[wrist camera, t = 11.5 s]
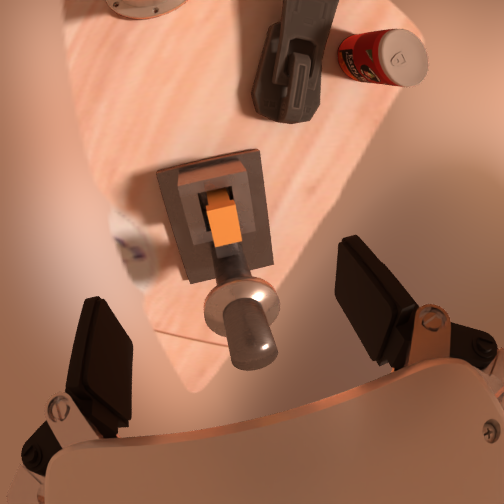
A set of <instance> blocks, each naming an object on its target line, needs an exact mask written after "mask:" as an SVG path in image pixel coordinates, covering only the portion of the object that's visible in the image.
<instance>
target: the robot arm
mask: <svg viewBox="0 0 504 504" xmlns="http://www.w3.org/2000/svg"><path fill="white" fill-rule="evenodd" d="M105 1H106V2H107V4H108V6H109V7H110V8H111V9H112V10H114V11H115V12H116V13H118V14H120V15H122V16H124V17H128V18H133V19H148V18H154V17H159V16H162V15H165V14H167V13H170V12H172V11H174V10H176V9H177V8H179V7H180V6H182V5H183V4H185V3H186V2H187V1H188V0H105ZM118 4H119V6H117V7H116V5H118ZM156 10H157V11H158V12H157V13H154V12H155V11H156ZM335 296H336V299H337V301H338V303H339V304H340V306H341V307H342V309H343V311H344V313H345V314H346V316H347V318H348V319H349V321H350V323H351V325H352V326H353V328H354V330H355V331H356V333H357V335H358V337H359V338H360V340H361V342H362V344H363V346H364V347H365V349H366V351H367V352H368V354H369V356H370V358H371V359H372V360H373V361H377V363H378V365H379V366H381V365H384V364H386V363H388V362H389V364H390V366H391V367H392V372H391V373H390V374H387V375H385V376H383V377H380V378H378V379H375V380H373V381H370V382H368V383H365V384H363V385H360V386H358V387H355V388H352V389H350V390H347V391H345V392H342V393H339V394H336V395H334V396H331V397H328V398H325V399H322V400H319V401H316V402H313V403H310V404H306V405H303V406H300V407H297V408H294V409H290V410H287V411H283V412H279V413H275V414H272V415H268V416H264V417H260V418H256V419H251V420H247V421H242V422H238V423H233V424H228V425H223V426H218V427H212V428H206V429H201V430H194V431H187V432H179V433H171V434H163V435H152V436H140V437H127V438H121V437H120V436H119V434H118V428H120V427H129V422H128V420H131V415H132V409H131V408H132V400H131V399H132V361H133V344H132V341H131V339H130V338H129V336H128V335H127V333H126V332H125V330H124V329H123V327H122V326H121V324H120V323H119V321H118V320H117V318H116V317H115V315H114V313H113V312H112V310H111V309H110V307H109V306H108V304H107V302H106V301H105V300H104V299H101V298H100V297H99V296H96V297H92V298H87V299H85V301H84V304H83V308H82V311H81V315H80V319H79V323H78V327H77V331H76V336H75V340H74V344H73V349H72V354H71V359H70V364H69V369H68V375H67V381H66V389H65V392H58V393H55V394H53V395H52V396H51V397H50V398H49V399H48V401H47V403H46V405H45V417H46V421H45V422H44V423H43V424H42V425H41V426H40V428H38V429H37V431H36V432H35V433H34V434H33V435H32V436H31V437H30V438H29V439H28V440H27V441H26V442H25V444H24V446H23V448H22V453H21V457H22V461H23V465H21V464H20V465H19V467H18V469H17V472H16V474H15V476H14V479H13V481H12V483H11V486H10V488H9V491H8V494H7V502H8V504H504V348H502V347H501V348H500V349H498V348H497V344H496V342H495V340H494V338H493V337H492V336H491V335H490V334H488V333H486V332H484V331H480V330H477V329H473V328H470V327H466V326H462V325H459V324H455V323H452V322H451V321H450V317H449V315H448V313H447V312H446V311H445V310H444V309H443V308H441V307H440V306H438V305H435V304H425V305H423V306H421V307H419V306H418V305H417V303H416V302H415V301H414V300H413V298H412V297H411V296H410V294H409V293H408V292H407V291H406V289H405V288H404V287H403V286H402V285H401V283H400V282H399V281H398V280H397V278H396V277H395V276H394V275H393V274H392V272H391V271H390V270H389V269H388V268H387V267H386V266H385V264H383V263H382V262H381V261H380V260H379V259H378V258H377V257H376V256H375V254H374V253H373V252H372V251H371V250H370V249H369V248H368V246H367V245H366V244H365V243H364V242H363V241H362V240H361V239H360V237H358V236H357V235H353V236H349V237H345V238H343V239H342V242H340V243H339V244H338V256H337V270H336V281H335Z"/></svg>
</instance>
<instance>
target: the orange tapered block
mask: <svg viewBox="0 0 504 504" xmlns="http://www.w3.org/2000/svg"><path fill="white" fill-rule="evenodd" d="M206 193H207V199H208V204H209V205H207V206H206V210H207V215H208V219H209V223H210V227H211V232H212V236H213V240H214V244H215V247H218V246H223V245H227V244H231V243H236V242H240V241H242V237H241V232H240V226H239V221H238V215H237V209H236V204H235V202H234V200H230V198H229V196H228V193H227V190H226V188H225V187H223V188H219V189H214V190H210V191H206Z"/></svg>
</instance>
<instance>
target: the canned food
mask: <svg viewBox="0 0 504 504" xmlns="http://www.w3.org/2000/svg"><path fill="white" fill-rule="evenodd" d="M338 61H339V64H340V67H341V68H342V70H343V71H344V72H345V74H346V75H348V76H349V77H350V78H352V79H354V80H356V81H359V82H367V83H376V84H385V85H392V86H400V87H414V86H417V85H419V84H420V83H422V81H423V80H424V79H425V77H426V75H427V72H428V67H429V60H428V54H427V51H426V49H425V47H424V45H423V43H422V42H421V40H420V39H419V38H418V37H417V36H416V35H415V34H413V33H412V32H410V31H408V30H404V29H388V30H381V31H374V32H368V33H362V34H357V35H353V36H350V37H348V38H346V39H345V40H344V41H343V42H342V44H341V45H340V47H339V50H338Z"/></svg>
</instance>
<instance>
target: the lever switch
mask: <svg viewBox="0 0 504 504" xmlns="http://www.w3.org/2000/svg"><path fill="white" fill-rule="evenodd" d="M156 175H157V178H158V182H159V185H160V189H161V193H162V196H163V200H164V203H165V206H166V210H167V213H168V217H169V220H170V223H171V226H172V230H173V233H174V236H175V239H176V242H177V246H178V249H179V252H180V255H181V258H182V261H183V264H184V267H185V270H186V273H187V276H188V279H189V282H190V284H193V283H198V282H202V281H206V280H211V279H215V278H216V283H217V286H216V287H214V288H213V289H212V290H211V291H210V292H209V294H208V295H207V297H206V299H205V302H204V317H205V321H206V324H207V325H208V327H209V328H210V329H211V330H212V331H213V332H215V333H216V334H218V335H221V336H224V337H227V341H228V346H229V351H230V356H231V361H232V364H233V365H234V366H235V367H236V368H238V369H241V370H257V369H260V368H263V367H266V366H267V365H269V364H271V363H272V362H273V361H274V360H275V359H276V357H277V355H278V350H277V347H276V344H275V341H274V338H273V336H272V333H271V330H270V327H269V326H270V325H271V324H272V323H273V322H274V320H275V319H276V318H277V316H278V314H279V311H280V301H279V298H278V296H277V293H276V291H275V289H274V288H273V286H272V285H271V284H270V283H268V282H267V281H265V280H263V279H261V278H257V277H252V275H251V272H250V270H253V269H257V268H262V267H266V266H270V265H274V262H273V253H272V245H271V236H270V228H269V219H268V211H267V203H266V195H265V187H264V180H263V172H262V164H261V157H260V151H259V150H258V149H254V150H249V151H243V152H238V153H233V154H228V155H223V156H218V157H213V158H209V159H204V160H200V161H195V162H191V163H187V164H183V165H179V166H175V167H171V168H167V169H163V170H159V171H157V173H156ZM223 187H225V188H226V190H227V193H228V196H229V198H230V200H234V202H235V204H236V209H237V215H238V221H239V226H240V232H241V237H242V241H240V242H236V243H231V244H227V245H223V246H218V247H215V244H214V240H213V236H212V232H211V227H210V223H209V219H208V215H207V210H206V206H207V205H209V204H208V199H207V193H206V191H210V190H214V189H219V188H223Z"/></svg>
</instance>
